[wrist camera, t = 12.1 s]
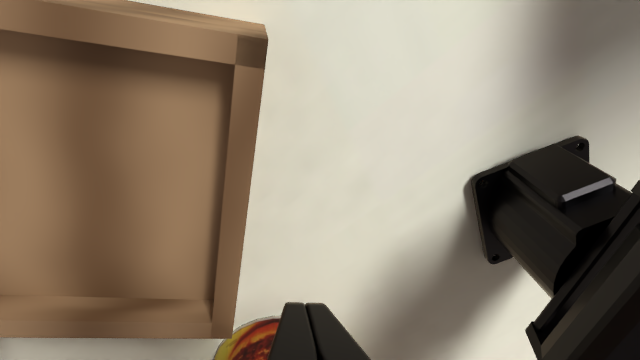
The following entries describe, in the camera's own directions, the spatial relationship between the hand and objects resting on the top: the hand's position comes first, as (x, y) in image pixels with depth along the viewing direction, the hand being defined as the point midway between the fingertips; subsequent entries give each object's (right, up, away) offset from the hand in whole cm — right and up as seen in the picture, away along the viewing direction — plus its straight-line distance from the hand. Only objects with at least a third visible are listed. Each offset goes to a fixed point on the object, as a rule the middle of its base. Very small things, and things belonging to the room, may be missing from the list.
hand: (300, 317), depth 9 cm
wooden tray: (-9, +4, +10) cm, 14 cm away
